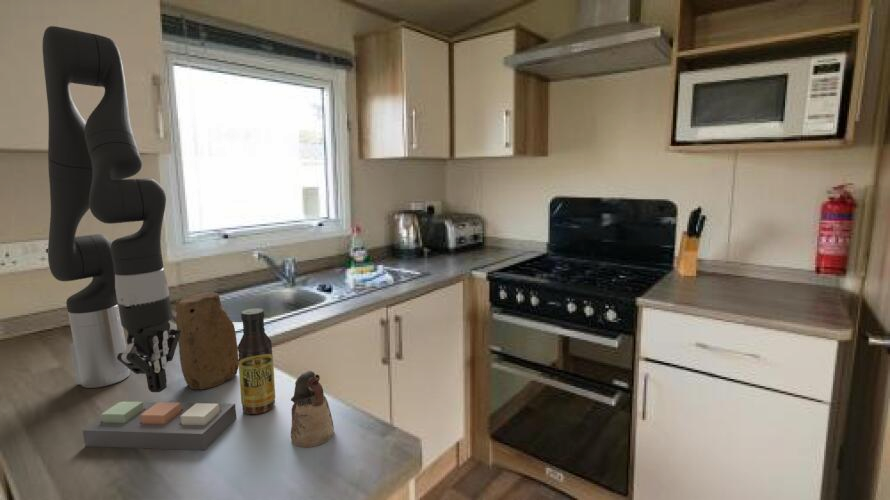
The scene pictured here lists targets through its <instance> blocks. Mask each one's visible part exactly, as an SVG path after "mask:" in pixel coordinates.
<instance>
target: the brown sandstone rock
mask: <svg viewBox="0 0 890 500" xmlns="http://www.w3.org/2000/svg"><path fill="white" fill-rule="evenodd" d="M218 293H219V292H218ZM218 293H217V292H211V291H205V292H202V293H196V294H191V295H188V296H184V297H181V298H179V299H176V301H175V304H174V307H175V312H176V314H175V322H176V323H175V325H176V329H180V331H181V333H180V336H179V340H178V343H177V344H178V352H179V353H178V354H179V361H180V367H181V372H182V375H183V378H184V381H185V383H186V384H187V386H188V387H189V388H190V389H193V390H206V389H212V388H215V387H217V386H219V385H221V384H223V383H224V382H228V381H229V380H232V379H233V378H234V377H235V375H237V373H238V371H239V363H238V360H239V352H238V339H237V333H236V329H235V324H234V322H233V321H232V320H231V319H230V317H229V316H228V314H227V311H226V310H225V309H223V306H222V303H221V297H220V295H219V294H218Z"/></svg>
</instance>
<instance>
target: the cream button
mask: <svg viewBox="0 0 890 500" xmlns="http://www.w3.org/2000/svg"><path fill="white" fill-rule="evenodd" d="M195 403H196V404H195V405H193V406H192V407H191V408H190V409H188V410H187V411H186V412H185V413H183V414H182V415H181V416H180V417H181V424H182V425H207V424H208V423H209V422H210V421H211V420H212V419H213V418H215V417H216V416H217V415H218V414H219V413H220V409H219V404H210V403H211V402H195Z"/></svg>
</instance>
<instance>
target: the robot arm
mask: <svg viewBox="0 0 890 500" xmlns="http://www.w3.org/2000/svg"><path fill="white" fill-rule="evenodd" d="M121 56H122V55H121V53H120V50H119V48H118V45H117V44H116V43H115V41H114V40H113V39H111V38H109V37H107V36H104V35H100V34H95V33H91V32H88V31H87V32H85V31H80V30H77V29H76V30H75V29H71V28H66V27H61V26H54V25H51V26H47V27H46V28H45V30H44V32H43V37H42V61H43V69H44V71H43V72H44V80H45V90H46V100H47V110H48V111H47V113H48V116H47V117H48V146H47V150H48V151H47V155H48V156H47V163H48V178H49V181H48V182H49V195H50V198H49V199H50V218H49V219H50V220H49V232H48V244H47V246H48V247H47V259H48V266H49V270H50V273H51V276H53V278H54V279H55V280H57V281H60V282H72V281H78V280H83V279H90V278H92V280H91V282H90V283H89V284H88V285H87V286H86V287H84V288H82V289H81V290H79V291H78V292H75V293H73V294H71V295H70V296H69V297H68V298H67V299H66V302H65V305H66V310H67V313H68V314H67V315H68V319H69V320H68V321H69V325H70V330H71V336H72V343H70V345H69V348H70V352H71V360H72V364H73V371H74V374H75V380H76V385H80V386H81V387H83V388H87V389H93V388H101V387H102V388H103V387H107V386H110V385H114V384H117V383H119V382H121V381H123V380H125V379H127V378H128V377H129V376H130V375H131V372H133V373H134V374H135V375H143V374H144V375H145V376H146V382H147V388H148V391H150V392H151V393H161V392H162V391H164V390H166V389H167V386H168V385H167V382H168V381H167V380H168V379H167V374H166V367H167V366H168V363H169V362H172V361H173V358H174V355H175V352H176V349H177V347H178V344H179V343H178V340H179V336H180V333H181V331H180V329H177V328H172V327H171V324H170V322H169V321H170V320H171V319H172V318H173V311H172V305H171V298H170V297H171V296H170V290H169V284H168V279H167V275H166V273H165V272H166V271H165V268H164V262H163V255H162V246H161V240H162V239H161V236H162V227H163V220H164V216H165V211H166V203H167V198H166V195H167V194H166V191H165V190H164V187H163V186H162V185H161V184H160V183H159V182H158V181H156V180H155V179H152V178H131V177H133V176H136V175H137V174H138V173H140V171H141V169H142V166H143V163H142V158H141V154H140V151H139V149H138V145H137V142H136V138H135V136H134V132H133V129H132V125H131V119H130V110H129V101H128V93H127V86H126V80H125V79H126V77H125V72H124V67H123V62H122V57H121ZM70 84H76V85H83V86H91V87H98V88H99V87H101V88H104V94H103V97H102V98H101V100H100V101H99V103H98V104H97V105H96V107H95V108H94V109H93V111H92V112H91V113H90V114H89V116H88V117H87V119H86V120H85V119H84V118H83V116H82V115H81V113H80V112H79V109H78V108H77V107H76V104H75V103H74V100H73V98H72V94H71V90H70ZM88 211H90V212H91V214H92V216H93V217H94V218H96V220H98V221H99V222H102V223H103V224H108V225H109V224H110V225H112V224H113V225H114V224H122V223H133V222H142V224H141V227H140V229H138V230H137V231H136V232H134V233H131V234H129V235H125V236H122V237H119V238H116V239H114V240H112V242H111V241H110V239H109V237H107V235H104V234H98V233H97V234H89V235H80V236H76V234H77V231H78V226H79V224H80V222H81V220H83V217H85V215H86V213H87V212H88ZM125 330H126V331H127V337H126V339H125V332H124V331H125ZM126 343H127V344H126Z"/></svg>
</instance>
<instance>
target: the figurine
mask: <svg viewBox="0 0 890 500" xmlns="http://www.w3.org/2000/svg"><path fill="white" fill-rule="evenodd" d="M320 379H321V376H320V374H318V373H315V372H314V371H312V370H306V371H304V372H302V373H301V374H300V375H299V376H298V377H297V378H296V380H295V383H294V385H295V386H294V393H293V396H292V397H291V398H290V401H291V402H293V405H292V406H291V428H290V439H291V442H292V444H293V445H294V446H296V447H300V448H311V447H312V448H313V447H317V446H321V445H323V444H325V443H326V442H328V441H329V440H330V439H331V438H332V437H333V434H334V429H335V425H334V420H333V416H332V413H331V409H330V406H329V402H328V399H327V397H326V395H325V394H324V389H323V385H322V384H321V383H320V382H319V381H320Z"/></svg>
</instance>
